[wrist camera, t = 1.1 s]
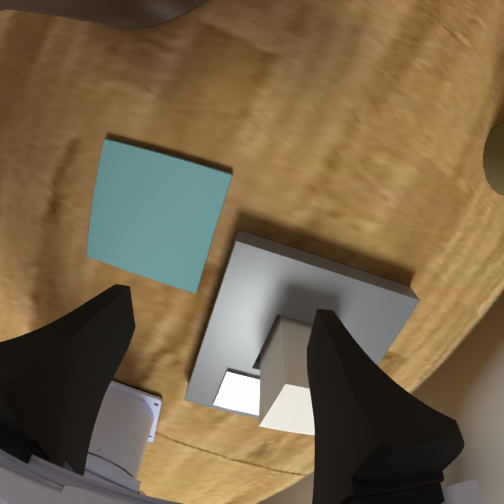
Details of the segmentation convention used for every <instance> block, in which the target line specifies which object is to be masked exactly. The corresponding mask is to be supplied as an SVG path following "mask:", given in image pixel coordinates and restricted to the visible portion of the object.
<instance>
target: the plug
mask: <svg viewBox="0 0 504 504" xmlns="http://www.w3.org/2000/svg"><path fill="white" fill-rule="evenodd" d="M312 327H313V324H310V323H306V322H303V321H299V320H295V319H292V318H288V317H284V316H281V315H277V316H276V318H275V320H274V323H273V325H272V327H271V329H270V331H269V333H268V335H267V338H266V340H265V342H264V344H263V346H262V348H261V350H260V394H259V426H260V427H265V428H271V429H276V430H282V431H288V432H295V433H302V434H309V435H315V427H314V416H313V409H312V402H311V395H310V389H309V381H308V374H307V346H308V342H309V338H310V335H311V331H312Z"/></svg>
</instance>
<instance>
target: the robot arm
mask: <svg viewBox="0 0 504 504" xmlns="http://www.w3.org/2000/svg"><path fill="white" fill-rule="evenodd" d="M134 330H135V321H134V314H133V307H132V299H131V292H130V286H125V285H118V284H116V285H114V286H112V287H110V288H108V289H107V290H105V291H104V292H102V293H100V294H99V295H97V296H96V297H94V298H93V299H91V300H90V301H88V302H86V303H85V304H83V305H82V306H80V307H79V308H77V309H75V310H73V311H72V312H70V313H68V314H67V315H65V316H63V317H61V318H60V319H58V320H56V321H54V322H52V323H50V324H48V325H46V326H44V327H42V328H39V329H37V330H35V331H32V332H30V333H27V334H24V335H22V336H19V337H16V338H13V339H10V340H6V341H3V342H0V504H182V503H177V502H172V501H167V500H163V499H158V498H154V497H150V496H146V495H145V493H144V492H143V491H141V490H139V487H140V483H141V482H140V481H138V480H136V479H137V476H138V472H139V469H140V465H141V462H142V458H143V455H144V452H145V448H146V445H147V441H148V442H153V440H154V436H155V431H156V427H157V422H158V418H159V413H160V409H161V404H162V399H161V398H160V397H158V396H155V395H152V394H149V393H146V392H143V391H140V390H137V389H134V388H132V387H129V386H126V385H123V384H121V383H118V382H115V381H113V380H112V379H113V377H114V375H115V373H116V371H117V369H118V367H119V365H120V363H121V361H122V359H123V357H124V355H125V353H126V351H127V349H128V347H129V344H130V341H131V338H132V335H133V333H134ZM307 374H308V381H309V389H310V395H311V402H312V409H313V416H314V427H315V467H314V488H313V502H312V504H483V503H482V499H481V496H480V492H479V489H478V485H477V482H476V480H475V479H471V480H468V481H465V482H462V483H458V484H454V485H451V486H449V487H447V488H444V489H443V490H442V488H441V484H440V482H442V481H443V480H444V476H443V472H442V471H443V470H444V469H445V468H446V467H447V466H448V465H449V464H450V463H451V462H452V461H453V460H454V459H455V458H457V456H458V455H459V454H460V453H461V451H462V449H463V447H464V440H463V437H462V435H461V432H460V429H459V427H458V424H457V423H456V420H453V419H452V418H450V417H448V416H446V415H444V414H442V413H440V412H438V411H436V410H434V409H432V408H431V407H429V406H427V405H426V404H424V403H423V402H421V401H419V400H418V399H417V398H415V397H414V396H412V395H411V394H410V393H408V392H407V391H406V390H404V389H403V388H402V387H400V386H399V385H398V384H397V383H396V382H394V381H393V380H392V379H391V378H390V377H389V376H388V375H387V374H386V373H384V372H383V371H382V370H381V369H380V368H379V367H378V366H377V365H376V364H375V363H374V362H373V360H372V359H371V358H370V357H369V356H368V355H367V354H366V353H365V352H364V350H363V349H362V348H361V347H360V346H359V344H358V343H357V342H356V341H355V339H354V338H353V337H352V335H351V334H350V333H349V331H348V330H347V329H346V327H345V326H344V325H343V323H342V322H341V320H340V319H339V318H338V316H337V315H336V314H335V312H334V311H333V310H326V309H317V311H316V315H315V319H314V323H313V327H312V331H311V335H310V338H309V342H308V346H307Z"/></svg>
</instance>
